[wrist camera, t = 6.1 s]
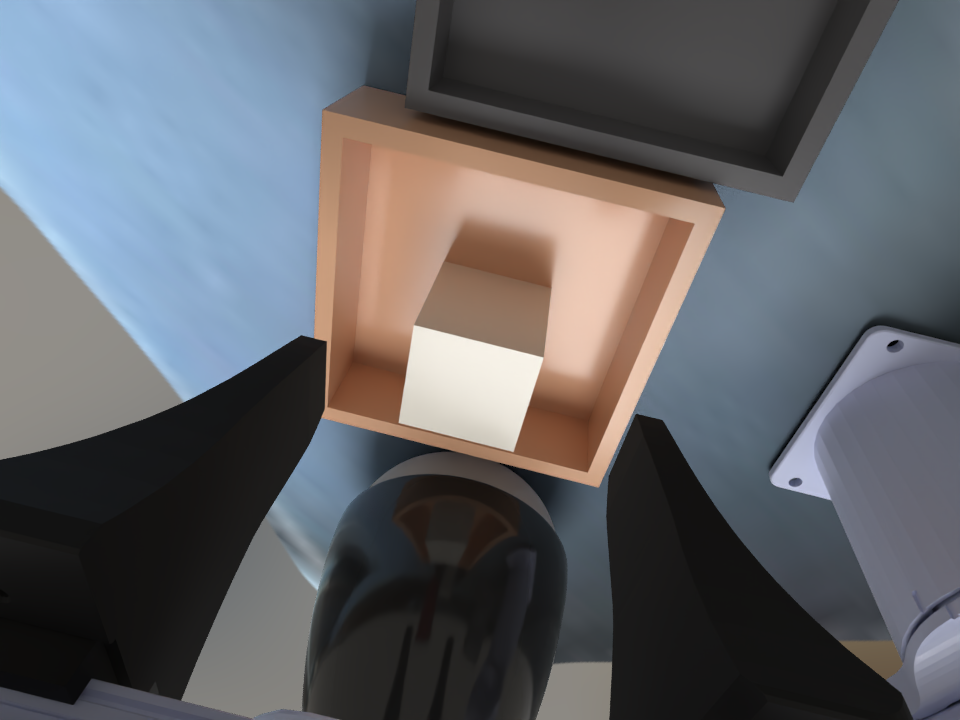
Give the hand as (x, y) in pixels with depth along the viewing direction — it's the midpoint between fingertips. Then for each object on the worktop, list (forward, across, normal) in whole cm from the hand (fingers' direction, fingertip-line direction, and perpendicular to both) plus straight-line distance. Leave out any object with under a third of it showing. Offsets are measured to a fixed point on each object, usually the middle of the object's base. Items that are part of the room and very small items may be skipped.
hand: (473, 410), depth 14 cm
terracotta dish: (+9, 0, +2) cm, 10 cm away
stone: (+9, 0, +3) cm, 9 cm away
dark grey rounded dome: (+10, 0, +14) cm, 17 cm away
